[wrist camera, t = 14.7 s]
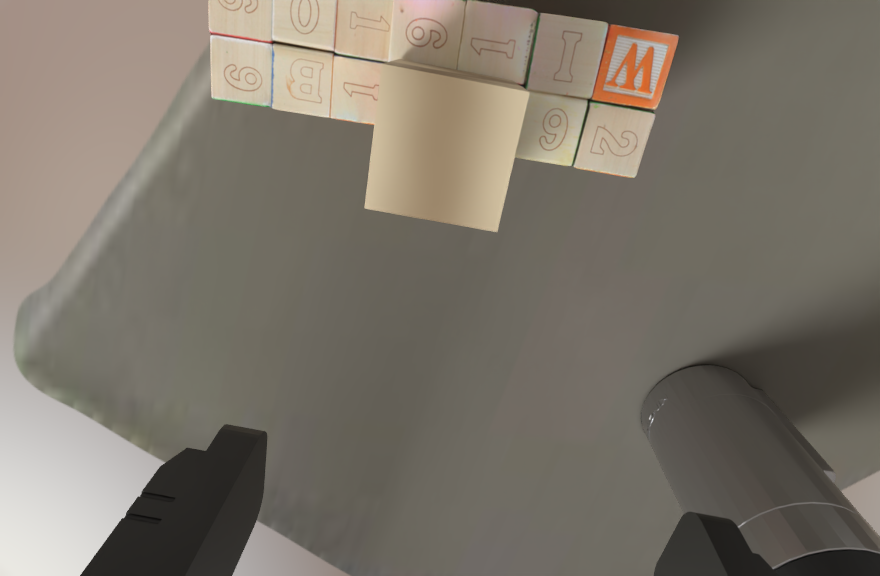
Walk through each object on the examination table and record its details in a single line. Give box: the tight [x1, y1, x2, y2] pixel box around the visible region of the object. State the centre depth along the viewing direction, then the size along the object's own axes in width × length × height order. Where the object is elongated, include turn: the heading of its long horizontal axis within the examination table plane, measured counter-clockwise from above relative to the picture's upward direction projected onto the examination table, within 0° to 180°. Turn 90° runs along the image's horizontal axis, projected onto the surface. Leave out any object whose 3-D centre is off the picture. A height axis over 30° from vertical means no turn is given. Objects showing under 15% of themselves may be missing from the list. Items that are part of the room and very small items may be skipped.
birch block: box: [365, 59, 530, 232], centre depth 21 cm, size 5×5×6 cm
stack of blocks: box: [208, 0, 679, 178], centre depth 29 cm, size 21×6×12 cm, turn 81°
